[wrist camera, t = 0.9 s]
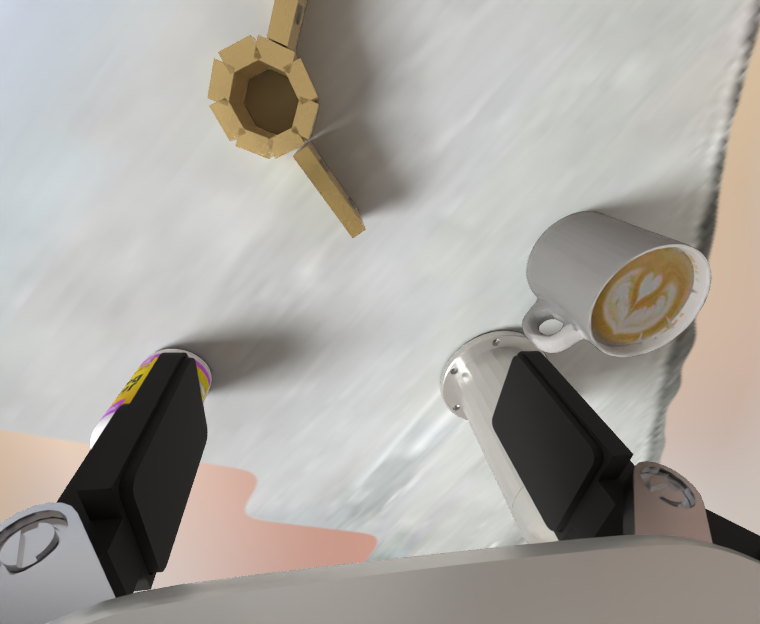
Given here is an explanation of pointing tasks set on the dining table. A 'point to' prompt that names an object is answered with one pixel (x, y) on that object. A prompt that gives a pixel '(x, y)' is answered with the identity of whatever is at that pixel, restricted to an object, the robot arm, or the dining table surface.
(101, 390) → the dining table surface
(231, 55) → the hinge base
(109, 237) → the dining table surface
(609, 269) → the coffee mug
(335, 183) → the wooden hinge leaf
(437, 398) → the dining table surface
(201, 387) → the supplement bottle
